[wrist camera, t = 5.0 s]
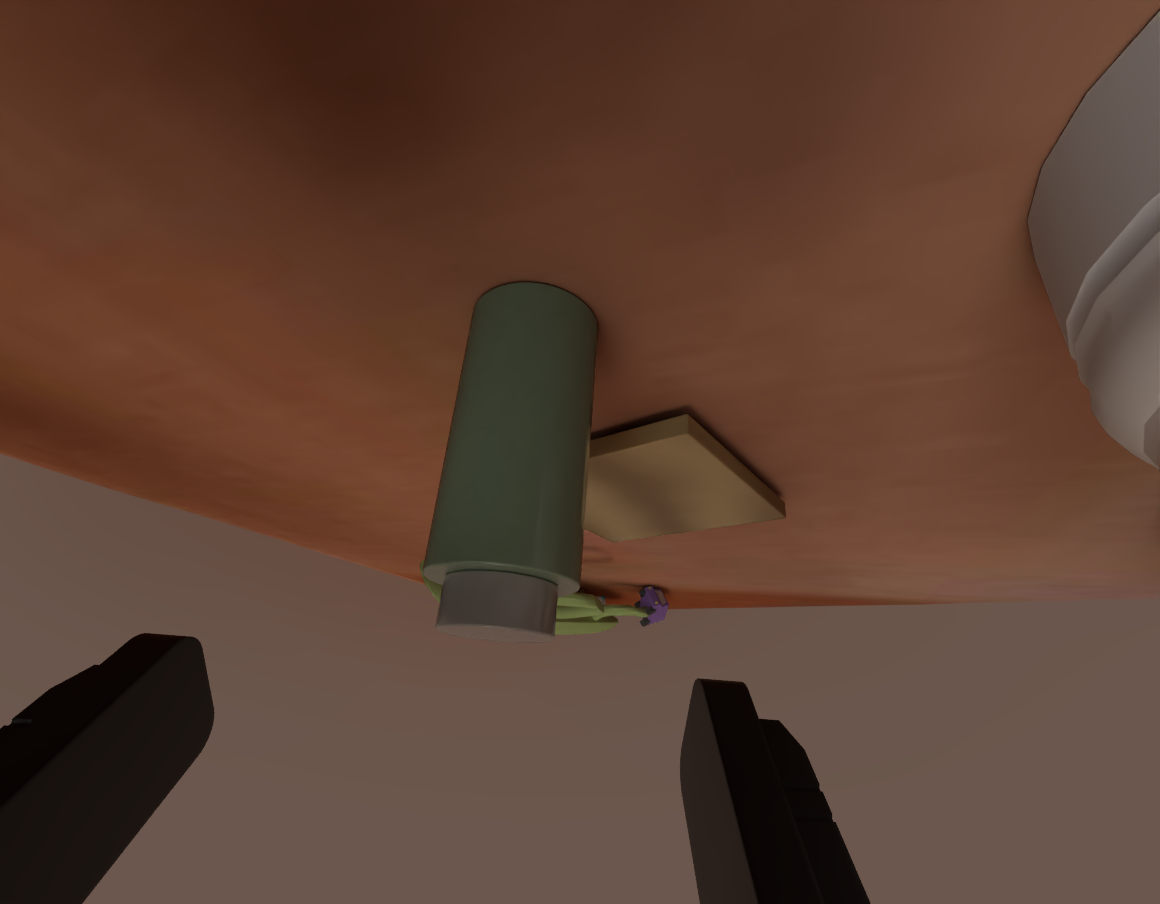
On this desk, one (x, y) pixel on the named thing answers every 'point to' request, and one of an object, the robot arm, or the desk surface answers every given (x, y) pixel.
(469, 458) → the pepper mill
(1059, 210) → the honey pot
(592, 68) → the desk surface
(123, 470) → the desk surface
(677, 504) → the plate
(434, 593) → the figurine
